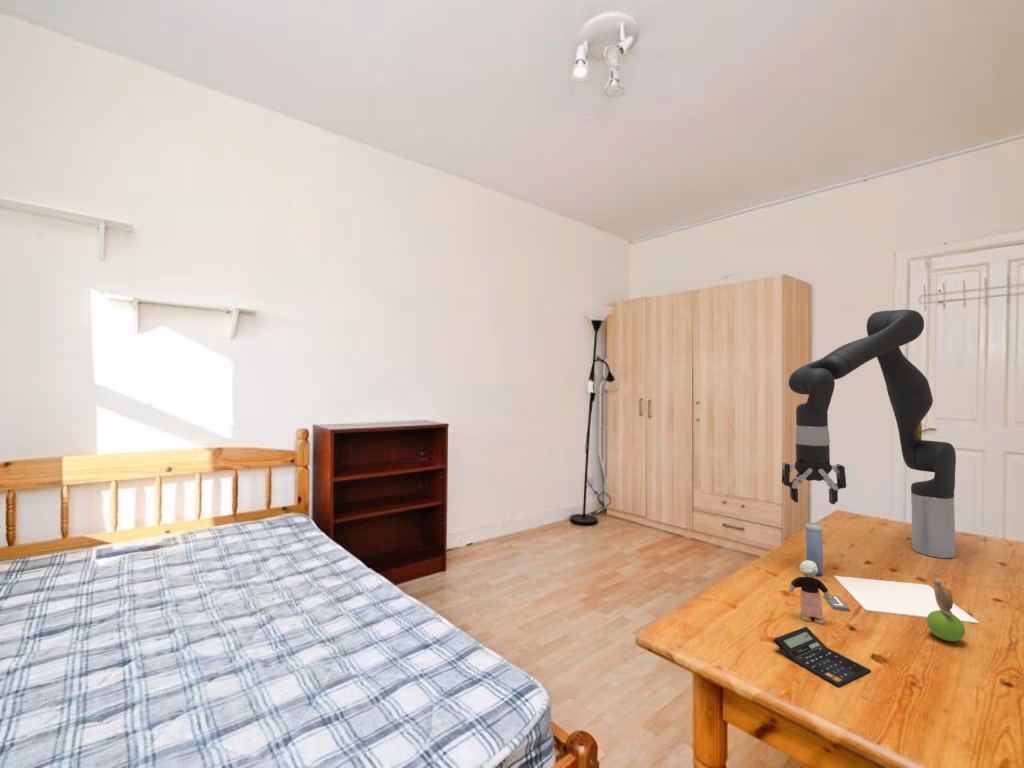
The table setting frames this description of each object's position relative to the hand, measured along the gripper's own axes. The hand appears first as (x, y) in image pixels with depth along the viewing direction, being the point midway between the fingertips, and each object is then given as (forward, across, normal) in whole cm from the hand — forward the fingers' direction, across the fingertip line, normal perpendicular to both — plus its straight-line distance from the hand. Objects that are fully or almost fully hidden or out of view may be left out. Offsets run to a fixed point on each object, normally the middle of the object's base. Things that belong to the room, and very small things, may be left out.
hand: (813, 502), depth 117 cm
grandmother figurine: (+19, +9, +26) cm, 34 cm away
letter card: (+19, +1, +17) cm, 26 cm away
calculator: (+20, +12, +42) cm, 48 cm away
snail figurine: (+19, -14, +27) cm, 36 cm away
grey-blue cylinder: (+19, 0, 0) cm, 19 cm away
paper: (+19, -14, +10) cm, 26 cm away
